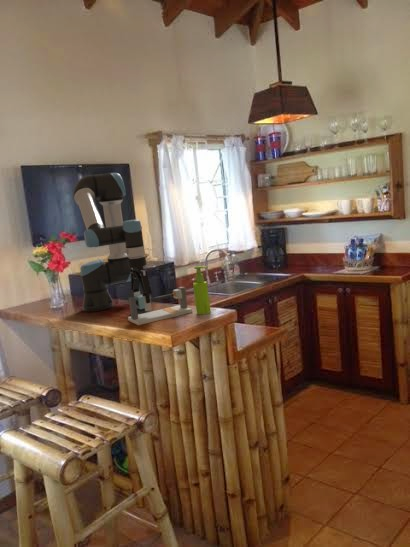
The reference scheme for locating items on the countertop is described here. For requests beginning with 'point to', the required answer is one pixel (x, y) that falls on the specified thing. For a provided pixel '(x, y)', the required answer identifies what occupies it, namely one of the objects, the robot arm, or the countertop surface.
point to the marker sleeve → (140, 301)
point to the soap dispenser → (201, 293)
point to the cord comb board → (161, 313)
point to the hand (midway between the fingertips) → (143, 308)
